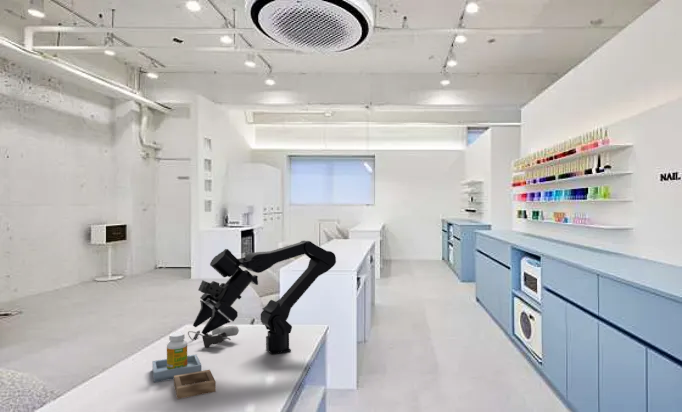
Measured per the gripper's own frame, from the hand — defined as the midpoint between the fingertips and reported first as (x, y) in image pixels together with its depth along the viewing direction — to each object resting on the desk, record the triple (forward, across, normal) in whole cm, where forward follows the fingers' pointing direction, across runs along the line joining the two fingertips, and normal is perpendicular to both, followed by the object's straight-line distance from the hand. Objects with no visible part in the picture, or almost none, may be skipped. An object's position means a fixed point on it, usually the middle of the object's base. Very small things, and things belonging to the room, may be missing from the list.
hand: (198, 329), depth 122 cm
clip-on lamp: (+1, -22, +15) cm, 27 cm away
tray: (+12, 0, +3) cm, 12 cm away
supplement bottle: (+11, 0, +3) cm, 12 cm away
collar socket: (+11, +14, +4) cm, 19 cm away
